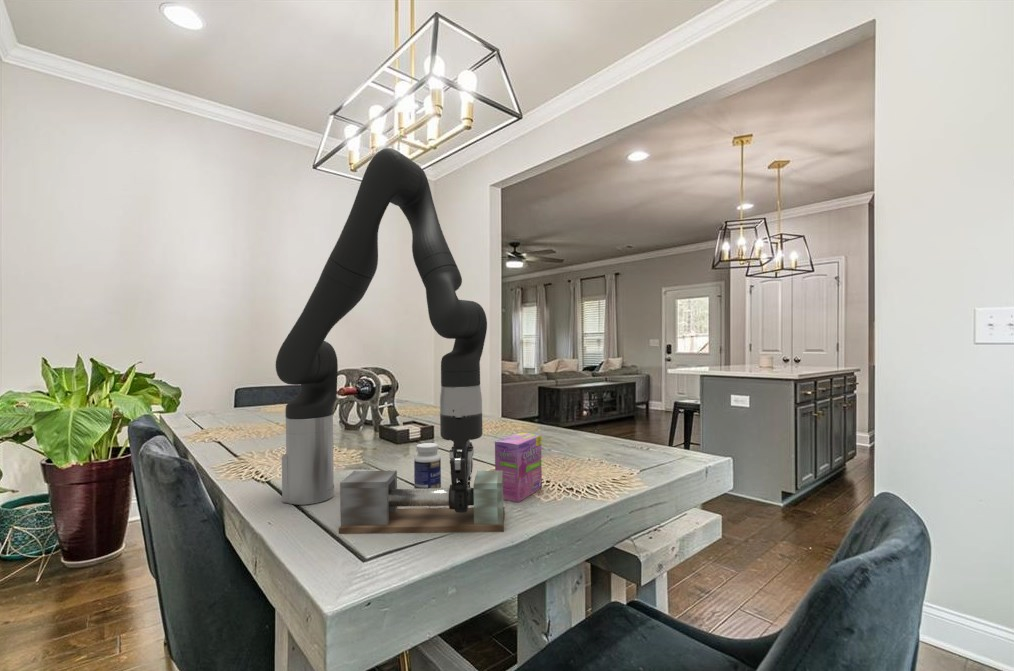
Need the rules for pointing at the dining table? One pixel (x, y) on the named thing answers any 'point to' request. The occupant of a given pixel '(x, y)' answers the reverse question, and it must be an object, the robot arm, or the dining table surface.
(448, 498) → the tube
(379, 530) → the rail base
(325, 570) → the dining table surface
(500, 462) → the box
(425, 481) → the pill bottle
